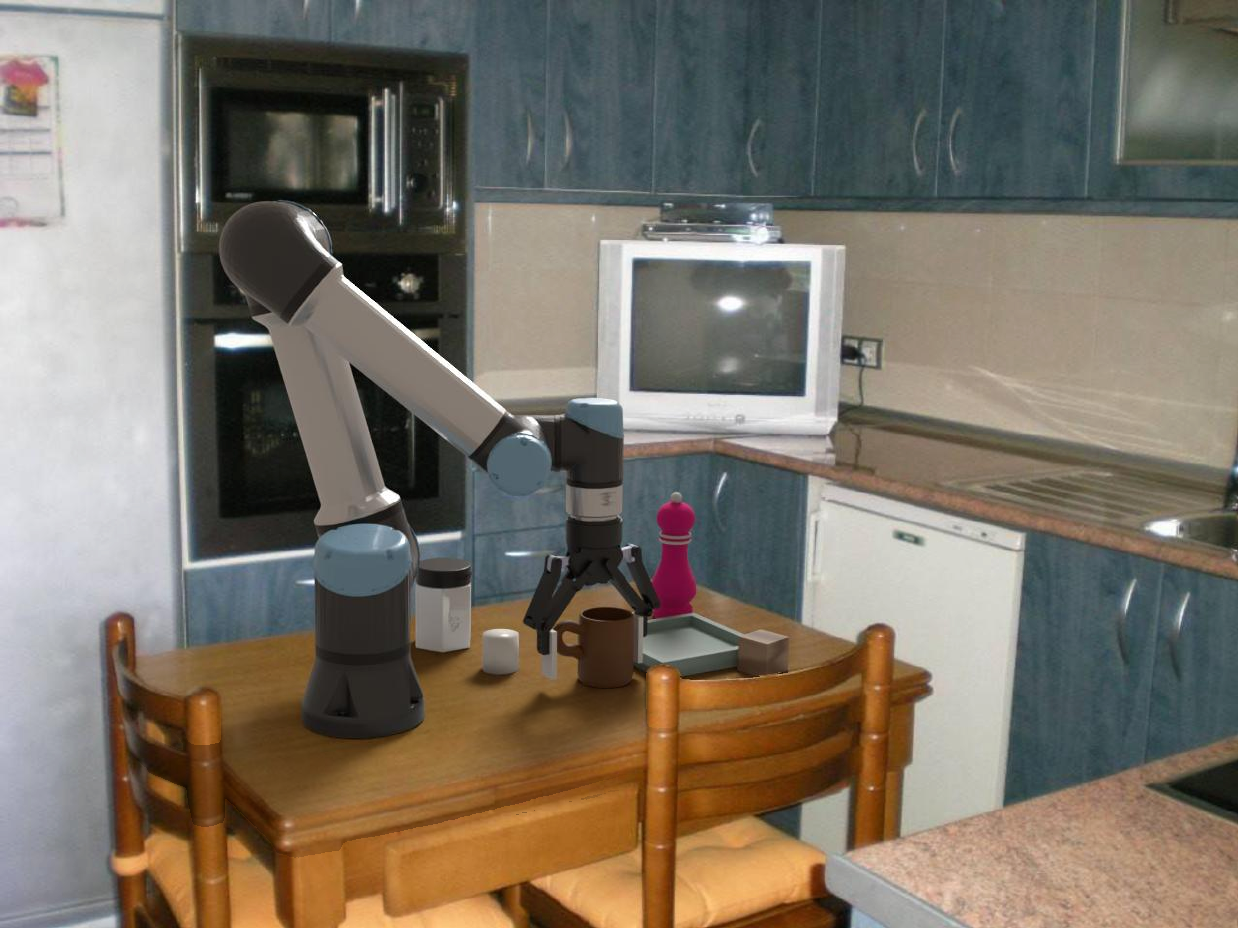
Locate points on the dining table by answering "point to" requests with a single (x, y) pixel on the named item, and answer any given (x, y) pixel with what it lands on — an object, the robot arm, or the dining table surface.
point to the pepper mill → (674, 559)
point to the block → (763, 653)
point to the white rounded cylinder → (500, 651)
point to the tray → (689, 644)
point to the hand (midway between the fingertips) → (592, 668)
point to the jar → (443, 604)
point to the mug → (601, 646)
